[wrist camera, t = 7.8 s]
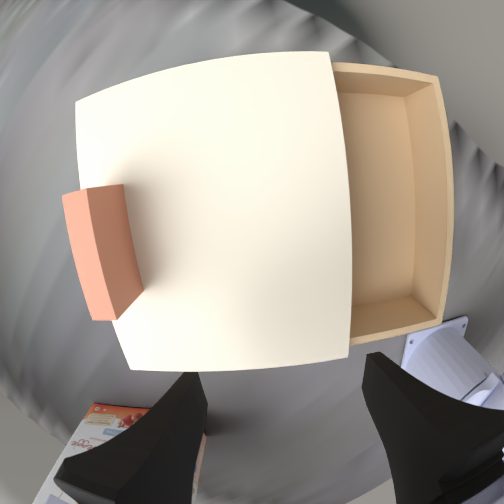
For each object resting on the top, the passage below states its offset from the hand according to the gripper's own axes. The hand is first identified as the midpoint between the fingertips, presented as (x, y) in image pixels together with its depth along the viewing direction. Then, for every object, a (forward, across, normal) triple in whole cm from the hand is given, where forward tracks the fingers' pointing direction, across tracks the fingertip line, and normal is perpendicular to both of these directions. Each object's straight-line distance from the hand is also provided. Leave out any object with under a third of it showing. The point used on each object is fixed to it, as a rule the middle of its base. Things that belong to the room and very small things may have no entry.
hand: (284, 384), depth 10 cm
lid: (+5, +3, -6) cm, 8 cm away
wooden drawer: (+10, -5, -6) cm, 13 cm away
